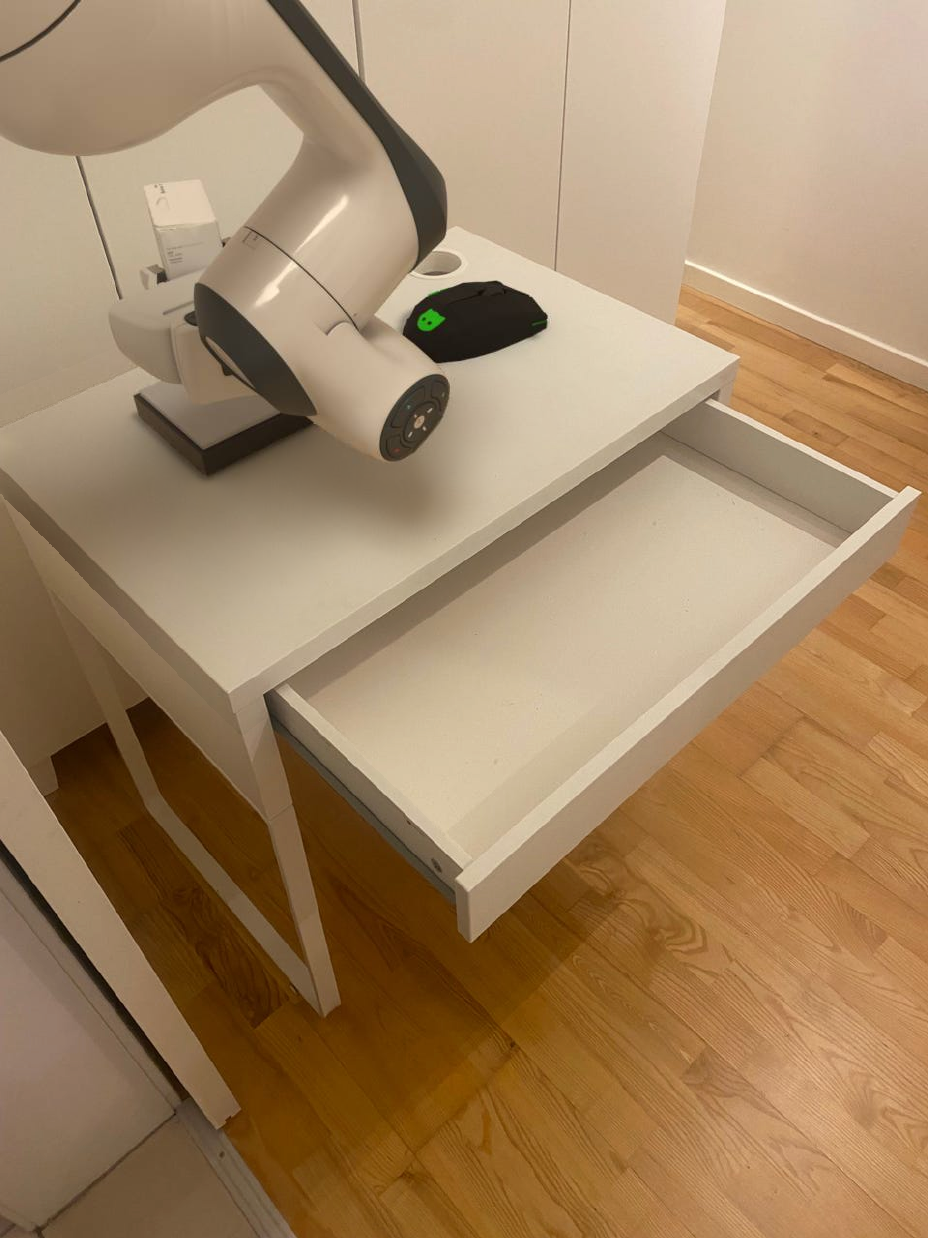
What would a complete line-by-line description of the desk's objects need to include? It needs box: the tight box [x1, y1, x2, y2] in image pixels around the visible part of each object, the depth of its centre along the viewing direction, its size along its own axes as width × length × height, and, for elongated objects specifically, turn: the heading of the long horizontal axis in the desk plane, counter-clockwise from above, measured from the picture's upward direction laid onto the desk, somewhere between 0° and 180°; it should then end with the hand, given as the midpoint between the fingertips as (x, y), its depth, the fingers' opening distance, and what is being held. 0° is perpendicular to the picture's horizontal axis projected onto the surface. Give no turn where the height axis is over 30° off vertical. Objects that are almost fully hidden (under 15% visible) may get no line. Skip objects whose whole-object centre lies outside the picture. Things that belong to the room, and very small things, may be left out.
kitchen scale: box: [132, 380, 314, 477], centre depth 91 cm, size 12×12×3 cm
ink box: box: [142, 178, 223, 282], centre depth 80 cm, size 9×5×12 cm, turn 20°
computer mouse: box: [402, 279, 549, 364], centre depth 103 cm, size 11×16×4 cm
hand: (187, 260), depth 80 cm, fingers closed on ink box, 6 cm apart
